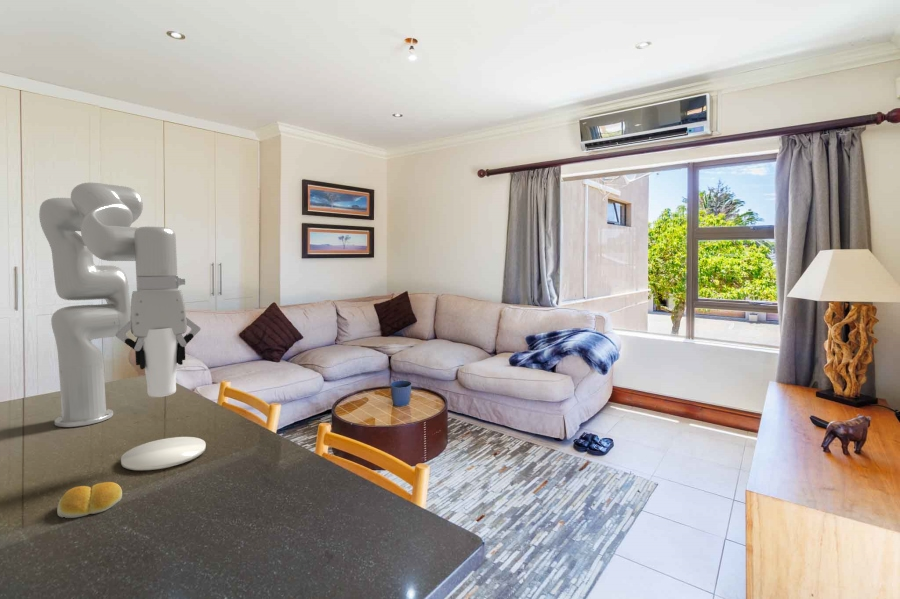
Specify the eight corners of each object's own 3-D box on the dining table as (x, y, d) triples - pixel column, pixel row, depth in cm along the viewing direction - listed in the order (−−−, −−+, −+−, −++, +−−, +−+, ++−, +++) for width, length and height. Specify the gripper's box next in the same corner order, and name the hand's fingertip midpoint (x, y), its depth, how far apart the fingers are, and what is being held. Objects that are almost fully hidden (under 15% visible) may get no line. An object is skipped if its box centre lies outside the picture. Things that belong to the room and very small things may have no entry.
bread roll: (121, 509, 80) (120, 487, 80) (55, 525, 75) (53, 502, 75) (123, 490, 87) (122, 469, 87) (63, 503, 82) (61, 481, 82)
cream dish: (119, 454, 103) (118, 447, 103) (198, 437, 113) (198, 431, 113) (123, 480, 91) (123, 473, 90) (212, 459, 101) (212, 452, 100)
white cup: (162, 399, 97) (159, 329, 96) (136, 397, 98) (132, 329, 97) (187, 391, 104) (184, 325, 102) (161, 389, 105) (158, 324, 104)
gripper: (199, 283, 107) (202, 358, 109) (107, 284, 96) (111, 368, 98) (205, 284, 101) (208, 363, 103) (108, 286, 91) (113, 375, 92)
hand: (161, 365), depth 100 cm, fingers closed on white cup, 6 cm apart
